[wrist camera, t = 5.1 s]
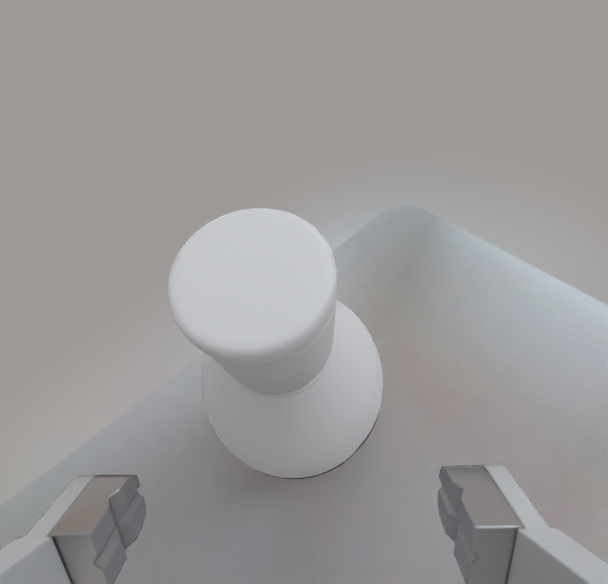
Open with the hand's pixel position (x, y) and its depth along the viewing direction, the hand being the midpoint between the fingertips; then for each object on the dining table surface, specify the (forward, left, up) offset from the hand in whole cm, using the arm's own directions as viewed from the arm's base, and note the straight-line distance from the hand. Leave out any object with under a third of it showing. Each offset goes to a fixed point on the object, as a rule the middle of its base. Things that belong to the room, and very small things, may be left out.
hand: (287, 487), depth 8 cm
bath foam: (+2, +3, -15) cm, 15 cm away
